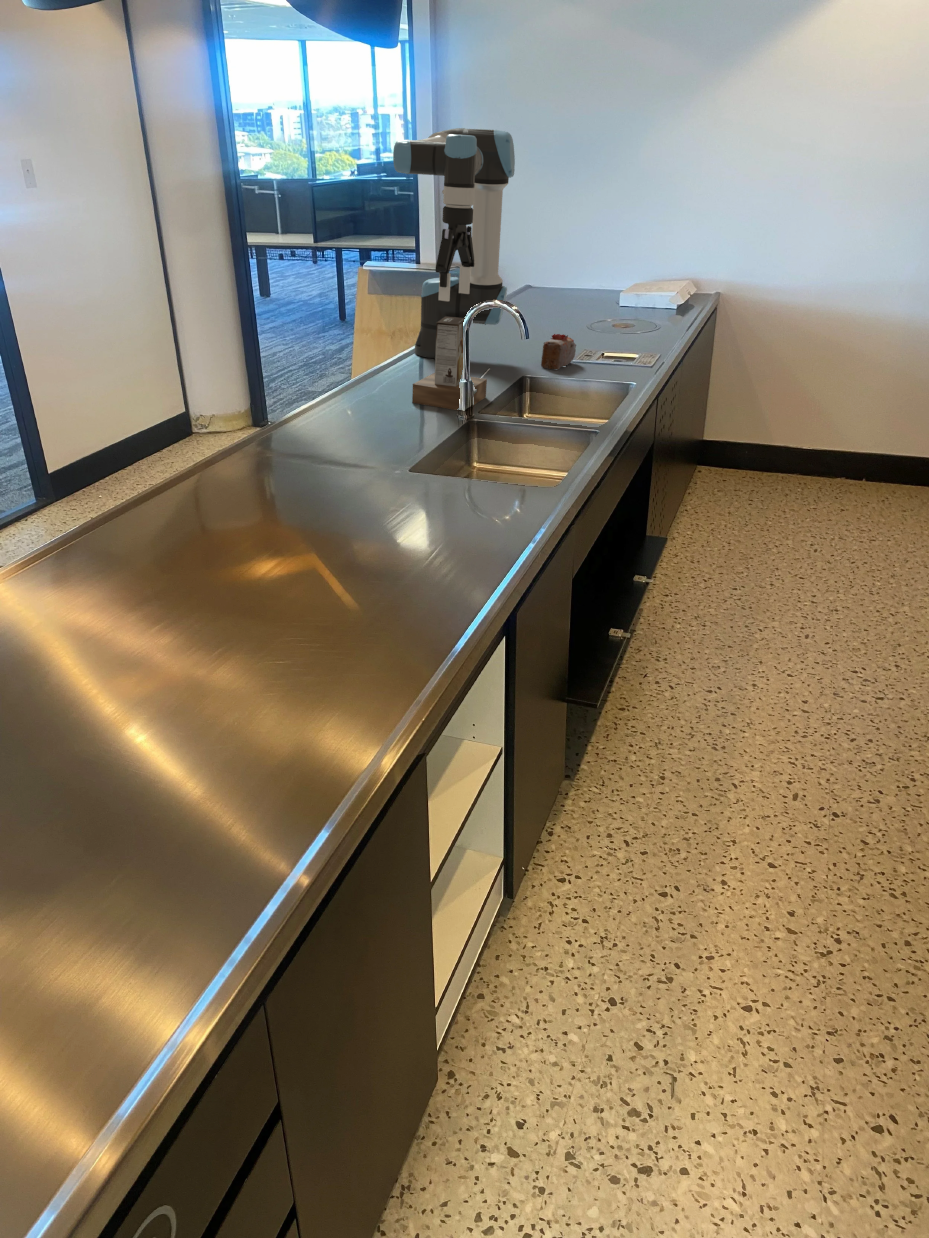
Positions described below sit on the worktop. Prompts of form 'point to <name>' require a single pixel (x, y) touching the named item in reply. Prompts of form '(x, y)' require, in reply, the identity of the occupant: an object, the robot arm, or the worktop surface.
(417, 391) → the walnut base
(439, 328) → the coffee box
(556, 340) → the food item
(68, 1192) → the worktop surface
